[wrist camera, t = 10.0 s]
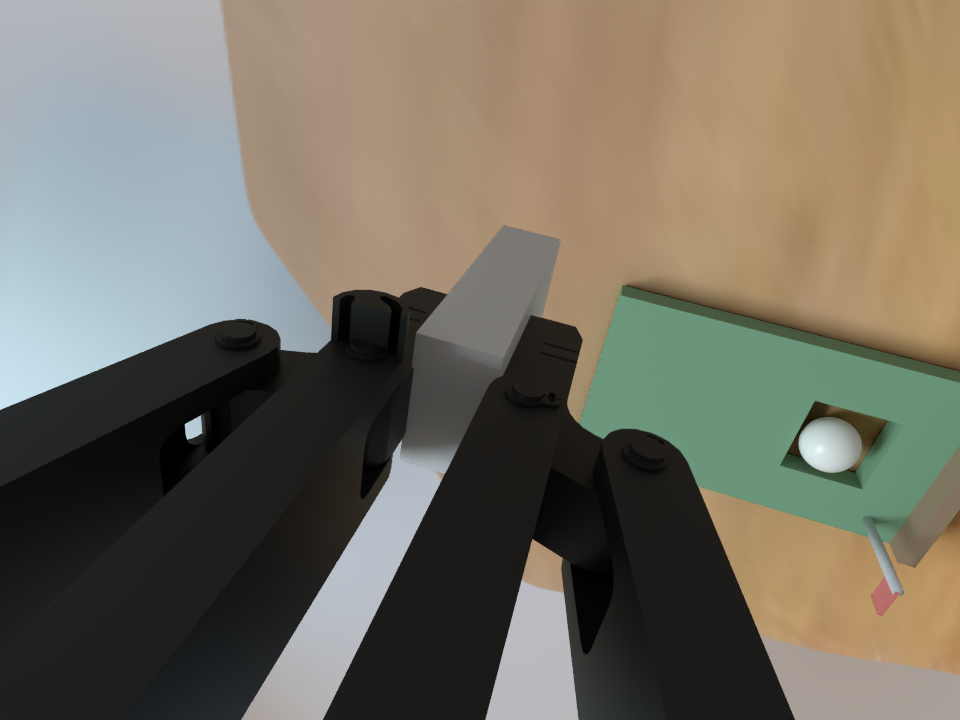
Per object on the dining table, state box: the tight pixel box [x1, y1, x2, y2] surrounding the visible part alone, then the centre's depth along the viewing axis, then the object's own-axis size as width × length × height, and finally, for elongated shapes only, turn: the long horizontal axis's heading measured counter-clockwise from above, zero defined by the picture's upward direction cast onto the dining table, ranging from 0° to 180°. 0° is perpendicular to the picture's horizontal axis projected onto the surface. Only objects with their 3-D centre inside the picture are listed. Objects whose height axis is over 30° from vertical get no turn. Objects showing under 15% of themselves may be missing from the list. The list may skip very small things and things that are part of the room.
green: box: [579, 285, 960, 616], centre depth 43 cm, size 15×26×9 cm, turn 80°
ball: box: [799, 417, 862, 473], centre depth 44 cm, size 4×4×4 cm
